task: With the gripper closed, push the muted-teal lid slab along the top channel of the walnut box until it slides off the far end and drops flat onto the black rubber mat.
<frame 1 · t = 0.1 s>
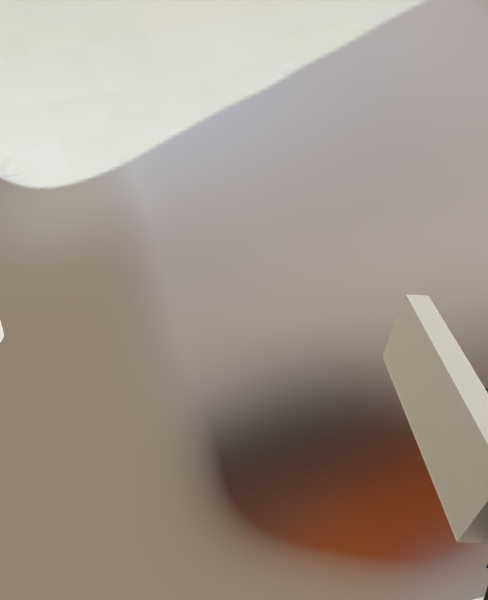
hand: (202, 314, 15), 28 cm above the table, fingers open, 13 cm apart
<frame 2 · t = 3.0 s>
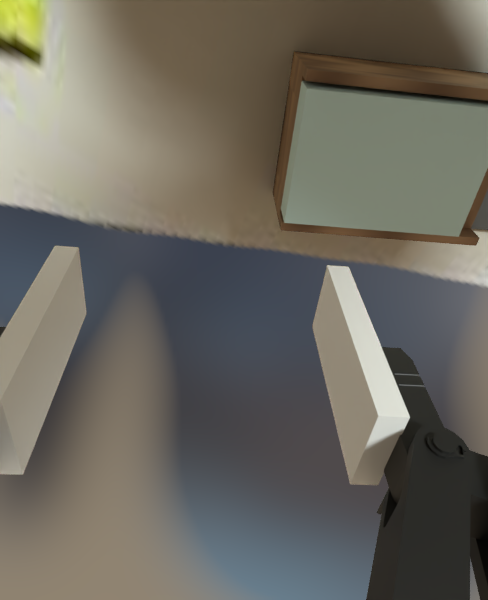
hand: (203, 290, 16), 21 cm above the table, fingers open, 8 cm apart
lid: (380, 158, 30), point 5 cm above the table, touching box
box: (375, 137, 35), on the table
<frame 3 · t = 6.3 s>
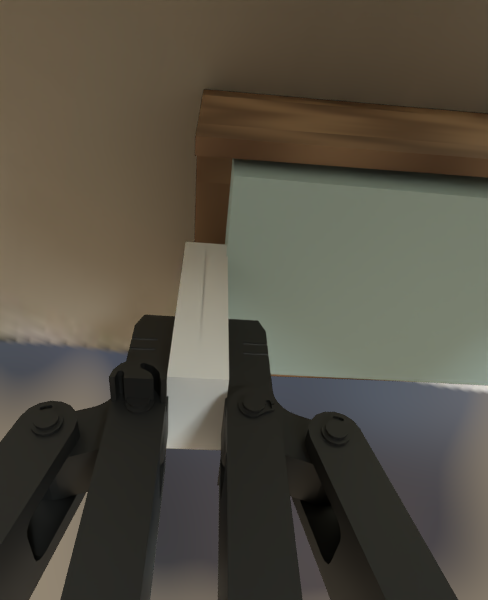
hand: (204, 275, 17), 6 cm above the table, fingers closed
lid: (372, 266, 19), point 5 cm above the table, touching gripper
box: (343, 211, 23), on the table
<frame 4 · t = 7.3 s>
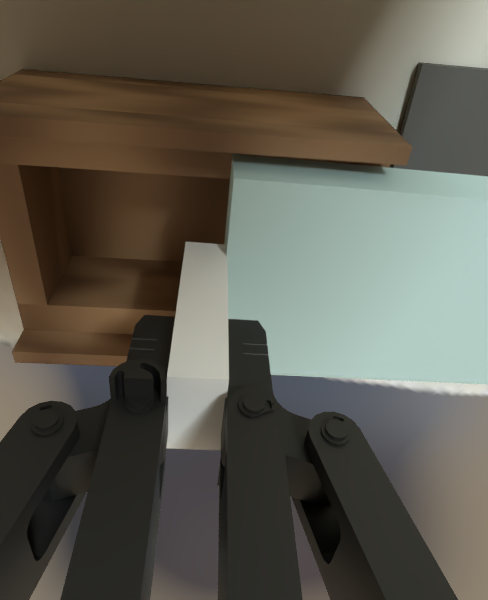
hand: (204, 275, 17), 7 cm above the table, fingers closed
lid: (371, 267, 19), point 5 cm above the table, touching gripper
box: (194, 197, 22), on the table
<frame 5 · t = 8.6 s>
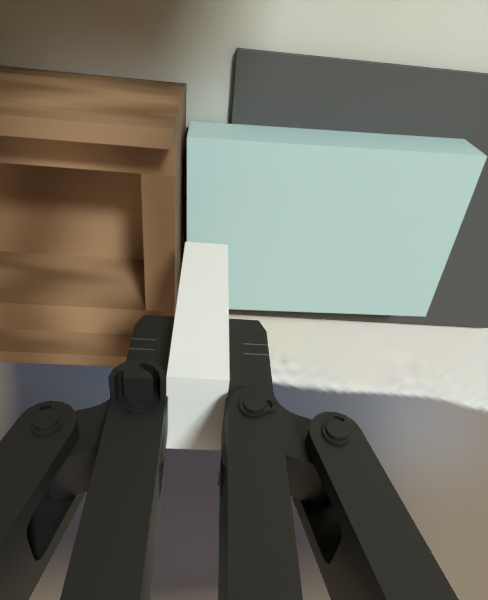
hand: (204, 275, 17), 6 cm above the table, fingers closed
mat: (387, 212, 23), on the table
lid: (314, 217, 22), resting on mat
box: (31, 186, 21), on the table
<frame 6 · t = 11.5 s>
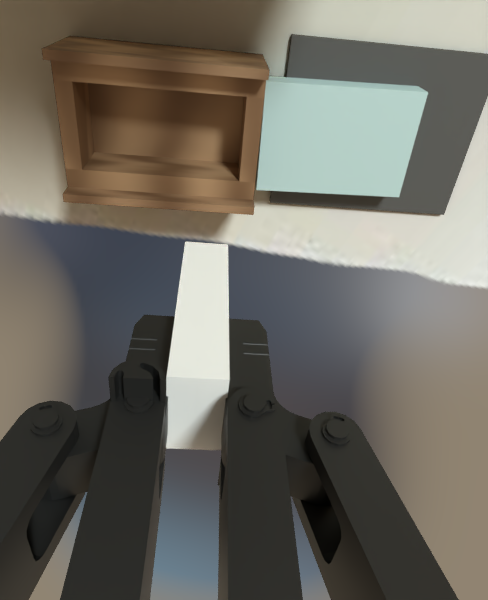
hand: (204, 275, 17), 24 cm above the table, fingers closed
mat: (375, 133, 38), on the table
lid: (332, 135, 38), resting on mat
box: (168, 116, 37), on the table
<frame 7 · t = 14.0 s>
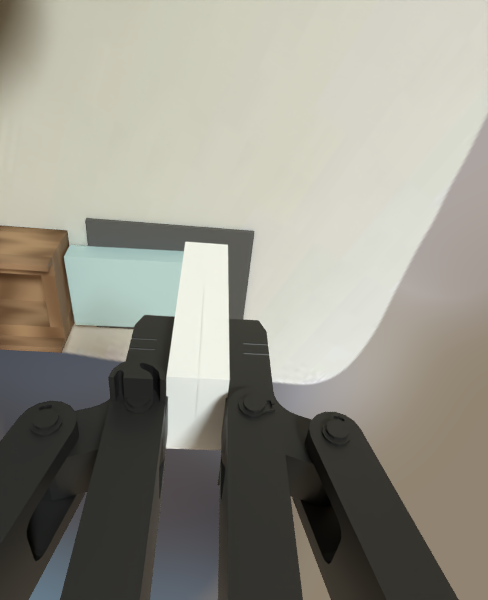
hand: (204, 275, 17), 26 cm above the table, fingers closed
mat: (170, 280, 49), on the table
lid: (134, 283, 48), resting on mat
box: (2, 269, 47), on the table
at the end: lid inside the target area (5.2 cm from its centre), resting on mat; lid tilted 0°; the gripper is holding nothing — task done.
